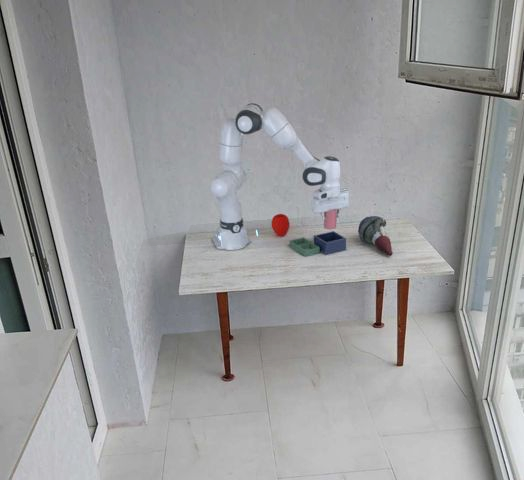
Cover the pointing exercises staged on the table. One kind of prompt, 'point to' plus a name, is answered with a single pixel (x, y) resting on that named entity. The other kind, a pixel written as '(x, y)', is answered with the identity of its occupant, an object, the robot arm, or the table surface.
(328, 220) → the cup
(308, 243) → the rack
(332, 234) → the navy blue open box
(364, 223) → the figurine
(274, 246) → the table surface
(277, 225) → the red rounded egg shape
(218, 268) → the table surface
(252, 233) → the table surface
